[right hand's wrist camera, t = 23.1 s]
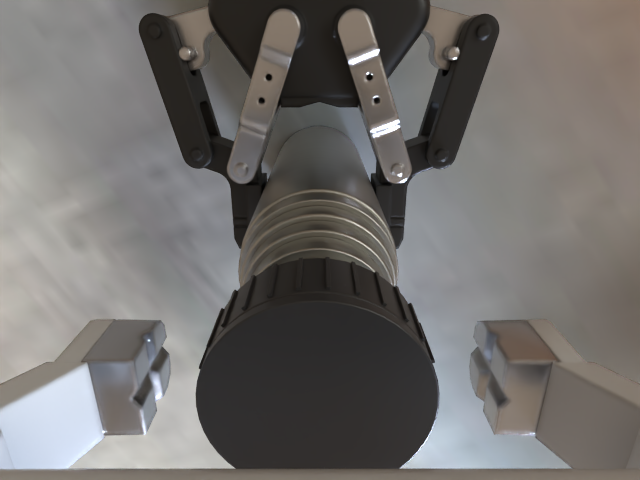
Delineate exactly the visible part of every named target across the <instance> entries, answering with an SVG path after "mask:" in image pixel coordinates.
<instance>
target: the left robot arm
mask: <svg viewBox="0 0 640 480" xmlns="http://www.w3.org/2000/svg"><path fill="white" fill-rule="evenodd" d="M139 33H140V37H141V39H142V42H143V45H144V48H145V51H146V54H147V56H148V59H149V62H150V65H151V68H152V71H153V73H154V76H155V79H156V82H157V85H158V88H159V90H160V93H161V96H162V99H163V102H164V105H165V107H166V110H167V113H168V116H169V119H170V122H171V124H172V127H173V130H174V133H175V136H176V139H177V141H178V144H179V147H180V150H181V153H182V156H183V158H184V160H185V162H186V163H187V164H188V165H189V166H191V167H193V168H197V169H200V168H206V169H209V170H212V171H215V172H218V173H220V174H222V175H223V176H224V177H225V178H226V179H227V180H228V182H229V184H230V187H231V198H232V211H233V224H234V237H235V240H236V242H237V244H238V246H239V248H240V249H241V247H242V242H243V239H244V236H245V234H246V231H247V229H248V226H249V224H250V222H251V219H252V217H253V214H254V212H255V210H256V207H257V205H258V203H259V200H260V198H261V196H262V193H263V191H264V188H265V186H266V184H267V173H262V168H261V163H262V160H263V157H264V154H265V151H266V148H267V145H268V142H269V139H270V136H271V133H272V130H273V127H274V124H275V122H276V119H277V116H278V113H279V110H280V107H302V106H306V105H310V104H313V103H317V102H322V103H326V104H329V105H333V106H336V107H359V110H360V113H361V116H362V119H363V122H364V125H365V127H366V130H367V133H368V136H369V139H370V142H371V145H372V148H373V151H374V154H375V157H376V160H377V161H376V173H371V185H372V187H373V190H374V192H375V195H376V197H377V199H378V202H379V204H380V207H381V209H382V212H383V214H384V217H385V219H386V222H387V224H388V227H389V229H390V231H391V234H392V237H393V239H394V243H395V247H396V249H398V248H399V246H400V244H401V242H402V240H403V234H404V220H405V219H404V218H405V206H406V192H407V186H408V183H409V181H410V180H411V178H412V177H413V176H415V175H416V174H418V173H420V172H423V171H426V170H429V169H432V168H436V169H444V168H447V167H449V166H450V165H451V164H452V163H453V162H454V160H455V157H456V155H457V152H458V149H459V146H460V143H461V140H462V137H463V135H464V132H465V129H466V126H467V123H468V120H469V117H470V115H471V112H472V109H473V106H474V103H475V100H476V97H477V95H478V92H479V89H480V86H481V83H482V80H483V77H484V75H485V72H486V69H487V66H488V63H489V60H490V57H491V55H492V52H493V49H494V46H495V43H496V40H497V37H498V34H499V24H498V22H497V20H496V19H495V17H493V16H492V15H489V14H481V15H474V16H467V15H463V14H460V13H456V12H452V11H448V10H445V9H441V8H437V7H434V6H430V0H209V3H208V6H205V7H202V8H198V9H194V10H191V11H187V12H183V13H180V14H176V15H172V16H163V15H160V14H156V13H150V14H147V15H145V16H144V17H143V18H142V19H141V21H140V24H139ZM421 33H422V34H424V35H425V36H426V37H427V39H428V41H429V45H430V49H429V60H430V63H431V64H432V65H433V66H434V67H435V68H437V69H439V70H438V73H437V76H436V80H435V83H434V86H433V89H432V92H431V96H430V99H429V102H428V105H427V108H426V112H425V115H424V118H423V121H422V124H421V128H420V131H419V134H418V137H415V138H412V139H410V140H407V141H404V139H403V135H402V132H401V128H400V121H399V117H398V113H397V110H396V107H395V103H394V100H393V97H392V93H391V90H390V87H389V83H388V80H387V79H388V78H389V77H390V75H391V74H392V72H393V71H394V70H395V68H396V67H397V66H398V64H399V63H400V62H401V60H402V59H403V57H404V56H405V55H406V53H407V52H408V51H409V49H410V48H411V47H412V45H413V44H414V43H415V41H416V40H417V38H418V37H419V36H420V34H421ZM215 34H218V35H219V37H220V38H221V39H222V41H223V42H224V43H225V45H226V46H227V47H228V49H229V50H230V51H231V53H232V54H233V56H234V57H235V58H236V60H237V61H238V62H239V64H240V65H241V66H242V68H243V69H244V70H245V72H246V73H247V74H248V76H249V77H250V79H251V82H250V86H249V89H248V92H247V96H246V99H245V102H244V106H243V109H242V112H241V116H240V120H239V127H238V131H237V135H236V138H235V141H231V140H229V139H226V138H223V137H221V135H220V132H219V128H218V125H217V122H216V119H215V116H214V113H213V109H212V106H211V103H210V100H209V97H208V94H207V90H206V87H205V84H204V81H203V78H202V75H201V71H200V69H202V68H204V67H205V66H206V65H207V64H208V62H209V59H210V52H209V43H210V40H211V38H212V37H213V36H214V35H215Z"/></svg>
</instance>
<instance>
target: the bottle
mask: <svg viewBox="0 0 640 480" xmlns="http://www.w3.org/2000/svg"><path fill="white" fill-rule="evenodd" d="M302 257H303V259H310V258H325V257H330V259H335V260H341V261H346V262H350V263H351V262H352V261H353V262H355V263H356V265H359V266H362V267H364V268H366V269H368V270H371V271H373V272H374V273H375V271H377V272H378V273H379V275H380V276H381V277H383V278H384V279H385V280H387V281H388V282H389V283H390V284H392V285H393V286H395V285H397V281H398V261H397V255H396V247H395V243H394V239H393V237H392V234H391V231H390V229H389V227H388V224H387V222H386V219H385V217H384V214H383V212H382V209H381V207H380V204H379V202H378V199H377V197H376V195H375V192H374V190H373V187H372V185H371V182H370V180H369V177H368V175H367V172H366V170H365V167H364V165H363V163H362V160H361V158H360V155H359V153H358V150H357V148H356V147H355V145H354V144H353V142H352V141H351V140H350V139H349V138H348V137H347V136H346V135H345V134H343V133H342V132H340V131H338V130H336V129H334V128H330V127H325V126H313V127H308V128H304V129H302V130H300V131H298V132H296V133H295V134H293V135H292V136H291V137H290V138H289V139H288V140H287V141H286V142H285V144H284V145H283V147H282V149H281V150H280V153H279V155H278V158H277V160H276V162H275V165H274V167H273V169H272V172H271V174H270V177H269V179H268V181H267V184H266V186H265V188H264V191H263V193H262V196H261V198H260V200H259V203H258V205H257V207H256V210H255V212H254V214H253V217H252V219H251V222H250V224H249V226H248V229H247V231H246V234H245V236H244V239H243V242H242V247H241V254H240V260H239V271H238V272H239V282H240V288H241V287H242V286H243V285H244V284H245V283H247V282H248V281H249V280H250V278H251V276H252V275H255V276H256V275H258V274H260V273H261V272H263V271H265V270H267V269H269V268H272V267H273V265H274V264H278V265H280V264H283V263H286V262H289V261H295V260H299V258H302Z"/></svg>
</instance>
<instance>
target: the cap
mask: <svg viewBox="0 0 640 480" xmlns="http://www.w3.org/2000/svg"><path fill="white" fill-rule="evenodd" d="M432 363H435V361H434V358H433V355H432V352H431V350H430V347H429V344H428V342H427V339H426V337H425V334H424V331H423V329H422V326H421V323H419V322H418V319H417V316H416V314H415V311H414V308H413V305H412V304H411V303H409V304H408V303H407V301H406V300H405V298H404V297H403V296H402V295H401V293H400V291H399V288H398V287H397V286H396V285H395V286H393V285H392V284H390V283H389V282H388V281H387V280H385V279H384V278H383V277H381V276H380V275H379V273H378V272H377V271H375V273H374V272H373V271H371V270H368V269H366V268H364V267H362V266H359V265H356V263H355V262H353V261H352V262H351V263H350V262H346V261H341V260H335V259H330V257H325V258H310V259H303V257H302V258H299V260H295V261H289V262H286V263H283V264H280V265H278V264H274V265H273V267H272V268H269V269H267V270H265V271H263V272H261V273H260V274H258V275H256V276H255V275H252V276H251V278H250V280H249V281H248V282H247V283H245V284H244V285H243V286H242V287H241V288H240V289H239V290H238V291H236V290H234V292H233V293H232V296H231V299H230V301H229V302H228V304H227V305H226V307H225V309H223V308H221V310H220V313H219V315H218V318H217V320H216V323H215V325H214V328H213V330H212V333H211V336H210V338H209V341H208V343H207V347H206V350H205V353H204V355H203V358H202V360H201V363H200V365H199V369H201V370H200V373H199V376H198V380H197V387H196V407H197V412H198V416H199V420H200V423H201V425H202V428H203V431H204V433H205V434H206V436H207V438H208V440H209V441H210V443H211V444H212V446H213V447H214V448H215V449H216V451H217V452H218V453H219V454H220V455H221V456H222V457H223V458H224V459H225V460H226V461H227V462H228V463H229V464H231V465H232V466H233V467H234V468H236V469H400V468H401V467H402V466H404V465H405V464H406V463H407V462H409V461H410V460H411V459H412V458H413V457H414V456H415V455H416V454H417V452H418V451H419V450H420V449H421V447H422V446H423V445H424V443H425V442H426V440H427V438H428V437H429V435H430V433H431V431H432V429H433V426H434V423H435V421H436V418H437V413H438V408H439V386H438V379H437V376H436V373H435V370H434V366H433V364H432Z"/></svg>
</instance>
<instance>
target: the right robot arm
mask: <svg viewBox="0 0 640 480" xmlns="http://www.w3.org/2000/svg"><path fill="white" fill-rule="evenodd" d="M166 337H167V336H166V331H165V326H164V324H163V322H162V321H161V320H115V319H96V320H92V321H90V322H89V323H88V324H87V325H86V326H85V328H84V329H83V330H82V331H81V332H80V333H79V334H78V335H77V337H76V338H75V339H74V340H73V341H72V342H71V343H70V344H69V346H68V347H67V348H66V349H65V350H64V351H63V352H62V354H61V355H60V356H59V357H58V358H57V359H56V360H55V361H54V362H46V363H44V364H42V365H40V366H38V367H35V368H33V369H31V370H29V371H27V372H25V373H23V374H21V375H19V376H17V377H14V378H12V379H10V380H8V381H6V382H4V383H2V384H0V480H640V384H638V383H636V382H634V381H632V380H630V379H627V378H625V377H623V376H621V375H619V374H617V373H615V372H613V371H611V370H609V369H607V368H605V367H602V366H600V365H598V364H596V363H594V362H586V361H585V360H584V359H583V358H582V357H581V356H580V355H579V354H578V352H577V351H576V350H575V349H574V348H573V347H572V346H571V345H570V343H569V342H568V341H567V340H566V339H565V338H564V337H563V335H562V334H561V333H560V332H559V331H558V330H557V329H556V328H555V326H554V325H553V324H552V323H551V322H550V321H548V320H546V319H532V320H500V321H477V324H476V326H475V330H474V336H473V337H474V339H475V341H476V343H477V345H478V347H477V348H476V349H475V350H474V351H473V352H472V353H471V357H470V365H469V368H470V380H471V383H472V387H473V390H474V392H475V394H476V396H477V397H478V398H480V399H481V400H483V401H484V408H483V412H484V414H485V416H486V418H487V420H488V422H489V424H490V426H491V429H492V431H493V433H494V434H500V435H536V438H537V439H538V440H539V441H540V442H542V443H543V444H544V445H545V446H546V447H548V448H549V449H550V450H551V451H552V452H554V453H555V454H556V455H557V456H558V457H559V458H561V459H562V460H563V461H564V462H565V463H567V464H568V465H569V466H570V467H571V468H573V469H68V468H69V467H70V466H71V465H72V464H74V463H75V462H76V461H77V460H78V459H79V458H81V457H82V456H83V455H84V454H85V453H87V452H88V451H89V450H90V449H91V448H93V447H94V446H95V445H96V444H97V443H99V442H100V441H101V440H102V439H103V438H104V435H139V434H146V433H147V431H148V429H149V427H150V424H151V422H152V420H153V418H154V416H155V414H156V412H157V408H156V401H157V400H159V399H160V398H162V397H163V396H164V394H165V392H166V390H167V387H168V383H169V378H170V356H169V353H168V352H167V351H166V350H165V349H164V348H163V347H162V345H163V343H164V341H165V339H166Z"/></svg>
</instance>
